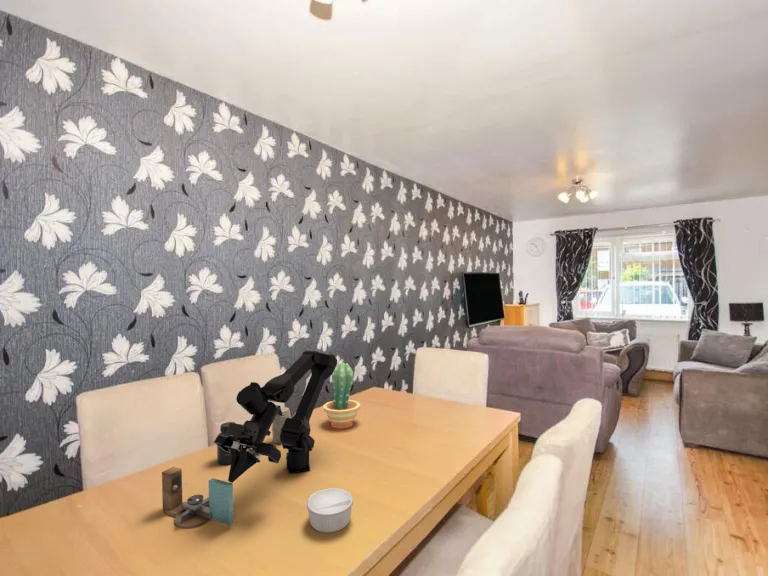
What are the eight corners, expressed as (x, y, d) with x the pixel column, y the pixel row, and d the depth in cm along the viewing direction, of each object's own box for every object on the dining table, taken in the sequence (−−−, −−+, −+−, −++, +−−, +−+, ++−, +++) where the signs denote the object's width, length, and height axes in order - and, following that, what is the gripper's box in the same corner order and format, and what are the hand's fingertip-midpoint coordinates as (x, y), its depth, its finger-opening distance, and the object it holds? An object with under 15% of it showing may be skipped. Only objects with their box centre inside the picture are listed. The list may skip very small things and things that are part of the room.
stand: (183, 498, 104) (183, 461, 104) (223, 511, 98) (222, 472, 98) (151, 517, 96) (150, 477, 96) (192, 532, 90) (191, 489, 90)
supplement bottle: (231, 466, 122) (231, 428, 122) (212, 464, 124) (212, 427, 124) (243, 456, 129) (243, 421, 129) (225, 455, 130) (224, 420, 130)
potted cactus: (368, 422, 160) (367, 362, 160) (345, 434, 147) (344, 369, 147) (339, 415, 168) (338, 358, 168) (315, 426, 155) (314, 365, 155)
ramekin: (333, 542, 86) (333, 519, 86) (296, 526, 92) (296, 504, 91) (362, 516, 95) (362, 495, 95) (327, 503, 101) (327, 483, 101)
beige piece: (268, 444, 139) (268, 411, 138) (279, 436, 146) (278, 405, 146) (284, 446, 137) (284, 412, 137) (294, 437, 144) (293, 406, 144)
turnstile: (198, 498, 102) (197, 463, 102) (245, 513, 95) (244, 476, 95) (166, 517, 94) (166, 479, 93) (216, 535, 87) (215, 494, 87)
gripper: (218, 404, 104) (183, 462, 94) (273, 412, 96) (240, 476, 86) (241, 423, 111) (210, 479, 101) (293, 433, 104) (265, 494, 94)
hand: (230, 481), depth 96 cm, fingers closed
